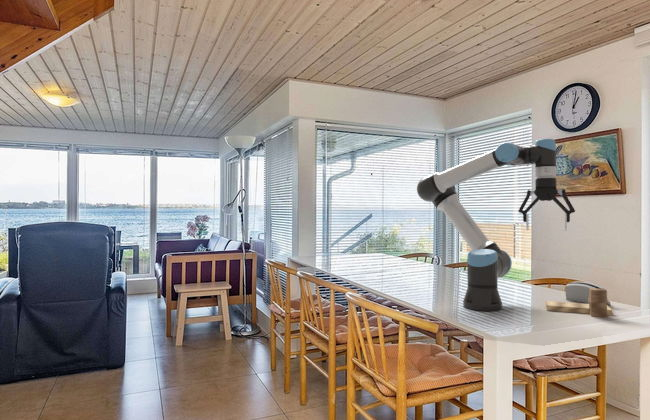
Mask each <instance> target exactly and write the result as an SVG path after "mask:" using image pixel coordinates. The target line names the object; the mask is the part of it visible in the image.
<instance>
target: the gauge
mask: <svg viewBox="0 0 650 420" xmlns="http://www.w3.org/2000/svg"><path fill="white" fill-rule="evenodd" d="M607 298H608V290H607V289H605V288H604V289H600V288H589V298H588V303H587V304H589V314H588V315H590V317H594V316H595V317H596V318H597V317H599V318H606V317H607V318H608V315H607V306H608V305H607Z"/></svg>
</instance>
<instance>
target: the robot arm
mask: <svg viewBox="0 0 650 420" xmlns="http://www.w3.org/2000/svg"><path fill="white" fill-rule="evenodd" d="M522 165H523V166H524V165H534V167H535V170H534V172H535V175H534V176H535V178H536V179H535V181H534V182H535V185H534V186H535V188H534V190H531V189H528V190H527V191H526V196H525V197H524V199H523V201H522V204H521V205H520V207H519V208H518V213H520V214H522V221H523V223H525V224H526V225H525V229H526V231H530V230H529V229H530V228H529V220H530V219H529V216H530V215H529V214H528V213H529V212H530V210H531V209H533V207H534V206H535V205H536V204H537V202H539V201H541V202H544V201H547V202H550V201H553V202H554V203H555V204H556V205H558V207H559V209H561V210H562V212H564V214H563V231H564V232H566V231H567V230H568V228H567V227H568V223H570V221H571V214H573V213H576V210H575V208H574V205H572V203H571V201H570V199H569V198H568V196H567V193H566V189H564V188H563V189H559V190H558V188H557V178H556V177H557V146H556V140H555V139H553V138H542V139H537V140H535V143H534V145H533V144H532V145H527V146H520V145H517V144H515V143H512V142H502V143H500V144H499V145H497V147H496V148H494V149H492V150H490V151H488V152H486V153H483V154H481V155H478V156H476V157H474V158H472V159H469V160H466V161H465V162H463V163H460V164H458V165H455V166H454V167H451V168H448V169H447V170H444V171H442V172H434V173H431V174H430V175H427V176H425V177H422V179H420V180H419V181H418V183H417V186H416V191H417V195H418V197H419V198H420V199H421V200H423V201H425V202H428V203H430V202H431V203H432V204H433V205H434V207H435V208H436V210H437V211H442V212H443V213H444V215H445V216H446V217H447V219H448V220H449V221H450V223H451V224H452V225H453V227H454V228H455V230H456V231H457V232H458V234H459V235H460V236H461V238H462V239H463V240H464V242H465V244H467V246H468V247H469V248H470V249H471V250H470V251H469V252H467V256H466V257H467V259H466V263H467V264H466V265H467V267H466V269H467V270H466V271H467V276H466V277H467V289H466V292H465V294H464V296H463V302H462V306H463V308H466V309H469V310H473V311H483V312H495V311H497V312H498V311H501V310H503V301H502V299H501V295H500V293H499V290H498V278H503V277H504V276H506V275H507V274H508V273H509V272H510V271H511V269H512V264H513V263H512V261H513V260H512V258H511V256H510V254H509V253H508V252H506V251H505V250H502V249H501V248H500V247H499V246H498V244H497V243H496V242H495V241H491V240H489V239H488V236H486V235H485V233H484V232H483V231H482V230H481V228H480V227H479V225H478V224H477V222H475V220H474V218H473V217H472V216H471V215H470V213H469V212H468V211H467V210H466V209H465V207H464V206H463V204H462V203H461V202H460V201H459V194H458V193H457V191H456V190H457V189H456V186H457V185H460V184H462V183H465V182H467V181H469V180H473V179H474V178H477V177H479V176H481V175H483V174H487V173H489V172H491V171H493V170H496V169H499V168H501V167H503V166H510V167H511V166H513V167H516V166H522ZM533 194H534V195H535V196H536V197H535V198H534V200H533V201H532V202H531V203H530V204H529V205H528V206H527V207H526V208H525V206H526V204H527V203H528V201H529V199H530V197H531V196H532V195H533ZM558 194H559V195H560V196H562V199H563V200H564V202H565V204H566V206H567V207H568V208H567V207H566V206H565V205H564V204H563V203H562V202H561V201H560V200H559V199H558V197H556V196H557V195H558ZM524 208H525V210H524Z"/></svg>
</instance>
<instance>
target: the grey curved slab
mask: <svg viewBox="0 0 650 420" xmlns="http://www.w3.org/2000/svg"><path fill="white" fill-rule="evenodd" d="M589 288H600V289H605V288H604V287H602V286H600V285H598V284H595V283H592V282H588V281H572V282H569V283H568V284H565V286H564V291H565V300H568V301H574V302H577V303H583V304H589V303H588V298H589ZM607 306H611V301H610V300H609V299H608V297H607Z"/></svg>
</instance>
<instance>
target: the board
mask: <svg viewBox="0 0 650 420" xmlns="http://www.w3.org/2000/svg"><path fill="white" fill-rule="evenodd" d="M544 306H545V309H546V311H551V312H552V311H553V312H564V313H577V314H588V315H590V314H589V303H583V302H567V301H549V300H545V301H544ZM607 316H613V309H612V308H611V307H610V305H607Z"/></svg>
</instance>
